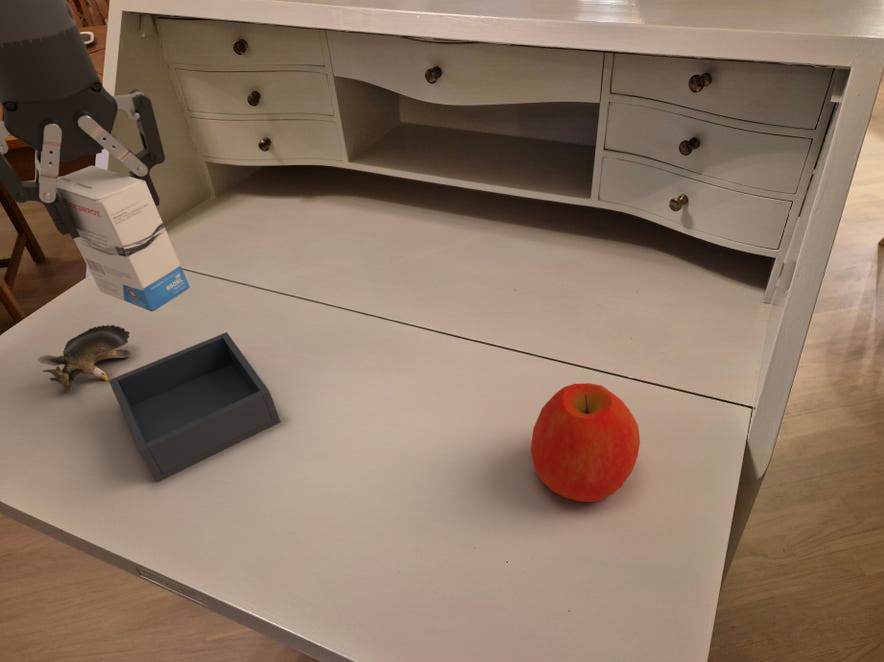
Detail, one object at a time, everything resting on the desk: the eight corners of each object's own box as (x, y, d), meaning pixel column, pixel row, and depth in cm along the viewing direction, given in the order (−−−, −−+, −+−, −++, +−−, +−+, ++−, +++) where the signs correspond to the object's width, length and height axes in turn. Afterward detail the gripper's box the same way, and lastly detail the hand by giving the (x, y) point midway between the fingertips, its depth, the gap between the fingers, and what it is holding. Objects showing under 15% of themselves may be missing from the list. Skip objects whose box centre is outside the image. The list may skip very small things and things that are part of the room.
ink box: (193, 288, 64) (147, 177, 57) (152, 314, 61) (98, 201, 53) (139, 268, 68) (89, 162, 60) (98, 292, 65) (40, 183, 57)
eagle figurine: (93, 399, 74) (146, 344, 79) (37, 359, 71) (96, 303, 76) (77, 406, 79) (128, 353, 84) (25, 368, 76) (81, 316, 81)
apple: (639, 444, 66) (652, 369, 59) (626, 525, 59) (638, 449, 52) (543, 426, 69) (544, 352, 62) (519, 501, 61) (517, 426, 55)
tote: (157, 482, 66) (139, 451, 62) (126, 410, 74) (108, 379, 71) (281, 422, 71) (269, 391, 68) (238, 361, 80) (226, 331, 77)
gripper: (108, 2, 54) (178, 187, 65) (-92, 36, 48) (22, 233, 59) (130, 16, 49) (202, 212, 60) (-89, 55, 43) (35, 266, 54)
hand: (113, 222), depth 59 cm, fingers closed on ink box, 6 cm apart
